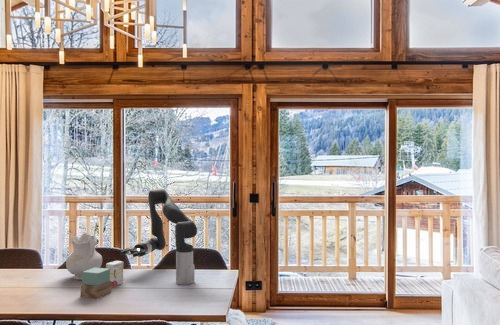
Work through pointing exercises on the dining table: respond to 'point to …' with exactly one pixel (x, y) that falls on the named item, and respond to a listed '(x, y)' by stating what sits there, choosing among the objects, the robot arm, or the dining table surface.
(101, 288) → the walnut block
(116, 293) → the dining table surface
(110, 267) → the ink box
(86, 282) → the green block
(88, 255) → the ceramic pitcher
